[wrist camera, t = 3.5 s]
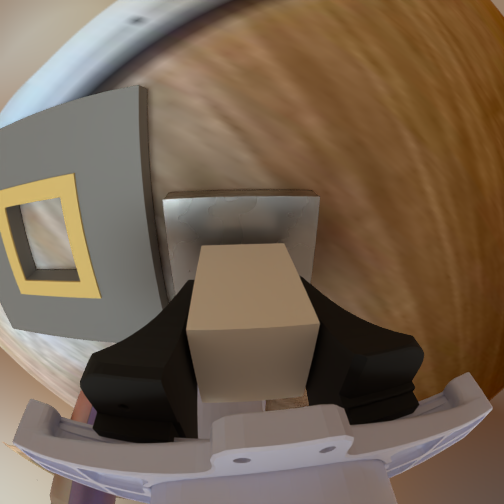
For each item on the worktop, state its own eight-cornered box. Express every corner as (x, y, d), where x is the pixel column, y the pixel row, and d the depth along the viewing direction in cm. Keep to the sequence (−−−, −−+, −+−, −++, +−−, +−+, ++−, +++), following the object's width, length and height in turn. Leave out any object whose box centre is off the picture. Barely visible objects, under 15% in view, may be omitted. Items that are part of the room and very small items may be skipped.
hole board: (174, 331, 19) (170, 347, 17) (20, 318, 17) (12, 329, 16) (147, 88, 12) (137, 84, 10) (-26, 146, 10) (-39, 150, 9)
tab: (300, 305, 18) (305, 319, 17) (183, 309, 18) (180, 324, 16) (311, 190, 15) (320, 196, 14) (168, 192, 14) (162, 199, 13)
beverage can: (126, 391, 22) (101, 526, 8) (135, 418, 24) (119, 531, 11) (75, 377, 21) (36, 499, 8) (89, 406, 23) (63, 511, 10)
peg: (279, 308, 15) (303, 396, 10) (207, 311, 15) (202, 402, 9) (284, 243, 13) (320, 323, 8) (201, 245, 13) (185, 330, 8)
